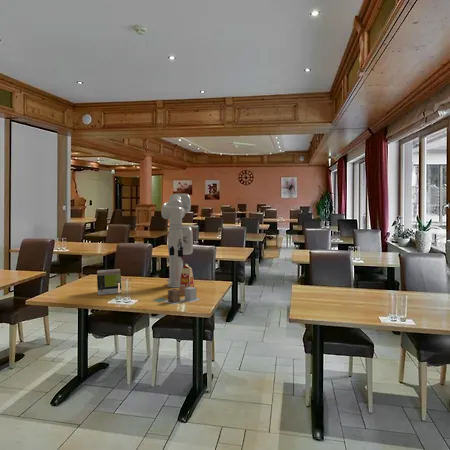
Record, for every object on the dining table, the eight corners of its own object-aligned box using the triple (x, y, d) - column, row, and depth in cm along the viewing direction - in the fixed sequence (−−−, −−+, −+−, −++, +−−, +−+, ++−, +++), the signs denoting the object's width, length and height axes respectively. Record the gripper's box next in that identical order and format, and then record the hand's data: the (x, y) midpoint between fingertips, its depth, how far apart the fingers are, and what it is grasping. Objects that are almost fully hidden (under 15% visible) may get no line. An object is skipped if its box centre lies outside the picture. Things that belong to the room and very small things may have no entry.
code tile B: (180, 300, 244) (180, 299, 244) (190, 297, 251) (190, 296, 251) (190, 302, 238) (190, 302, 238) (201, 299, 245) (201, 299, 245)
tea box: (120, 290, 271) (120, 268, 269) (121, 293, 261) (121, 271, 260) (97, 291, 266) (96, 269, 265) (97, 295, 256) (96, 272, 255)
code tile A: (163, 302, 239) (163, 301, 239) (174, 299, 246) (174, 298, 246) (173, 305, 233) (173, 304, 233) (184, 301, 240) (184, 301, 240)
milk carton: (191, 295, 256) (191, 264, 254) (177, 294, 258) (177, 263, 256) (195, 291, 265) (195, 262, 263) (182, 291, 267) (181, 261, 265)
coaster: (152, 300, 243) (152, 300, 243) (161, 298, 248) (161, 297, 248) (159, 302, 238) (159, 302, 238) (168, 300, 244) (168, 299, 244)
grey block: (184, 299, 244) (184, 288, 244) (190, 297, 248) (190, 286, 248) (190, 300, 241) (190, 289, 241) (196, 299, 245) (196, 288, 244)
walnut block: (168, 301, 240) (167, 290, 239) (174, 300, 243) (174, 288, 243) (173, 303, 236) (173, 291, 236) (179, 301, 240) (179, 289, 239)
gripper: (163, 227, 244) (163, 255, 244) (177, 228, 230) (178, 257, 231) (173, 226, 248) (174, 254, 249) (188, 227, 235) (189, 256, 235)
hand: (176, 256), depth 240 cm, fingers open, 9 cm apart
